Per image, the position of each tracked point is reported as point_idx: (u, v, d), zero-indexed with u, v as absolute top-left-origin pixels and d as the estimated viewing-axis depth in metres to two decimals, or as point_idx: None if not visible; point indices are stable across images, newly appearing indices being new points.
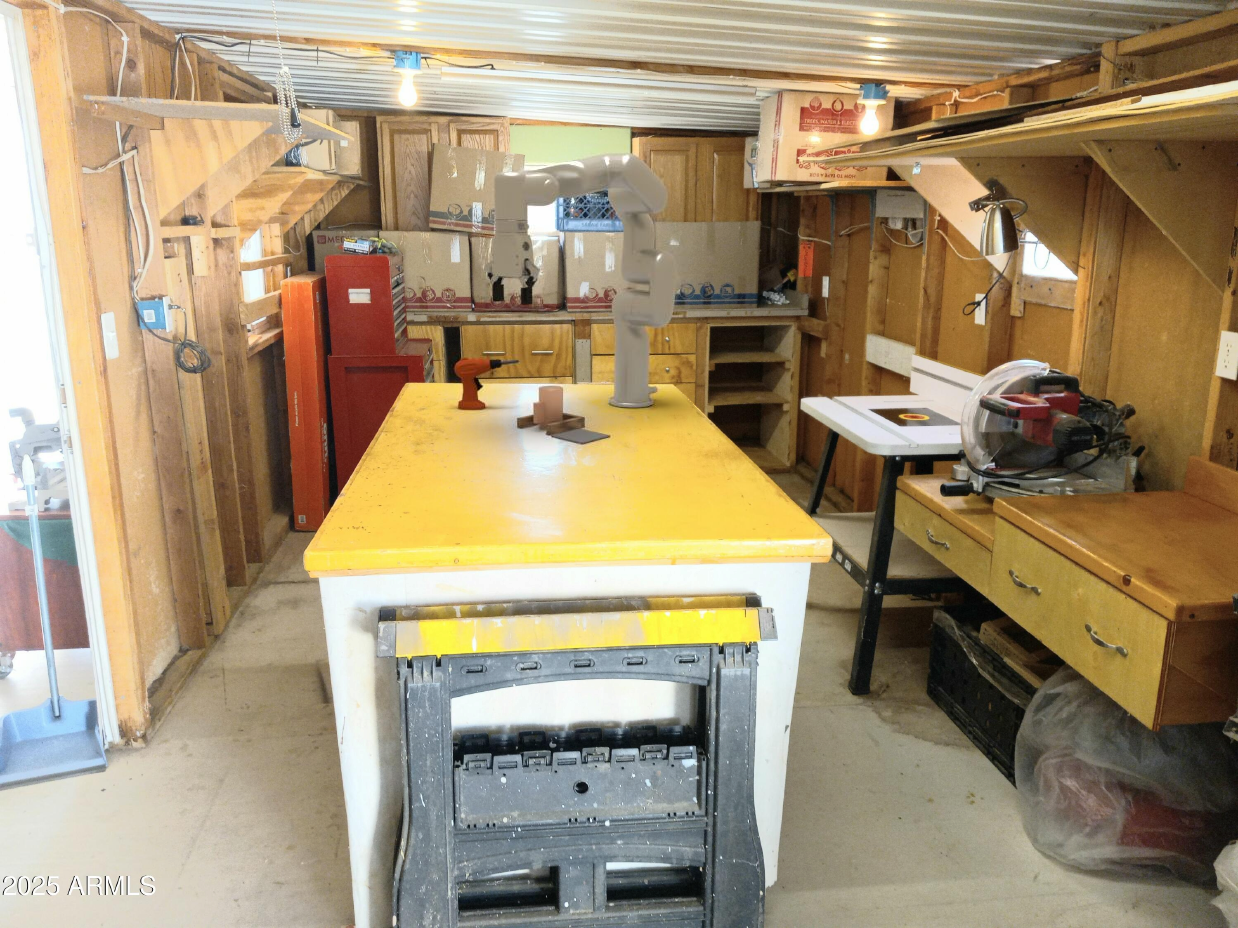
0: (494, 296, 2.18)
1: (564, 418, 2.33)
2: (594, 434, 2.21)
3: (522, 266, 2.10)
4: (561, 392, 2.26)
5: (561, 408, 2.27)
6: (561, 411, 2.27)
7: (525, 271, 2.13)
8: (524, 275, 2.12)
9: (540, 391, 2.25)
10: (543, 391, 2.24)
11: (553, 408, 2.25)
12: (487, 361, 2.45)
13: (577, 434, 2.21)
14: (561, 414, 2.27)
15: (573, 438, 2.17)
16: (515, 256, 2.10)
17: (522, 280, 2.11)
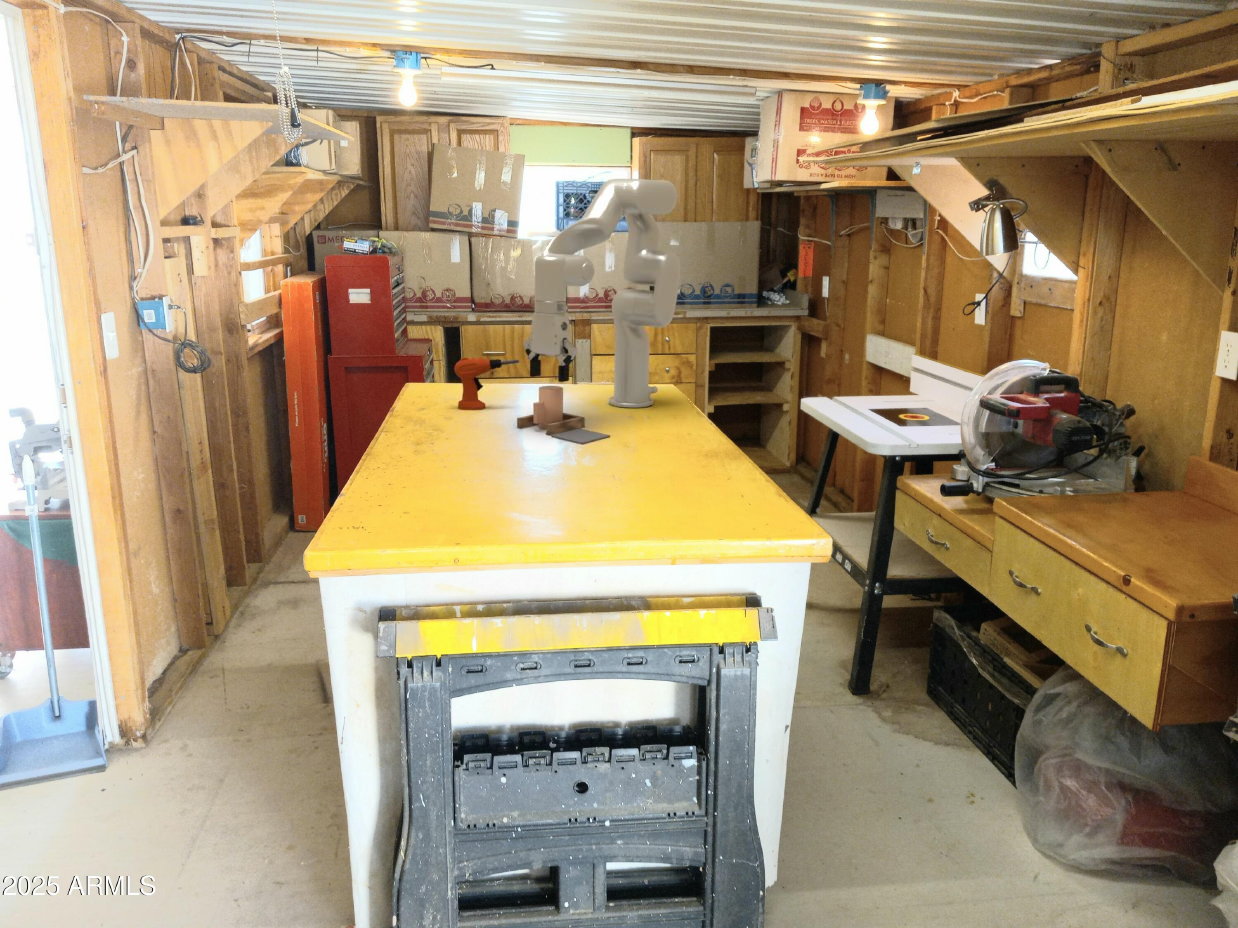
0: (531, 372, 2.27)
1: (564, 418, 2.33)
2: (594, 434, 2.21)
3: (560, 345, 2.19)
4: (561, 392, 2.26)
5: (561, 408, 2.27)
6: (561, 411, 2.27)
7: (563, 349, 2.22)
8: (562, 353, 2.21)
9: (540, 391, 2.25)
10: (543, 391, 2.24)
11: (553, 408, 2.25)
12: (487, 361, 2.45)
13: (577, 434, 2.21)
14: (561, 414, 2.27)
15: (573, 438, 2.17)
16: (554, 336, 2.19)
17: (560, 358, 2.20)
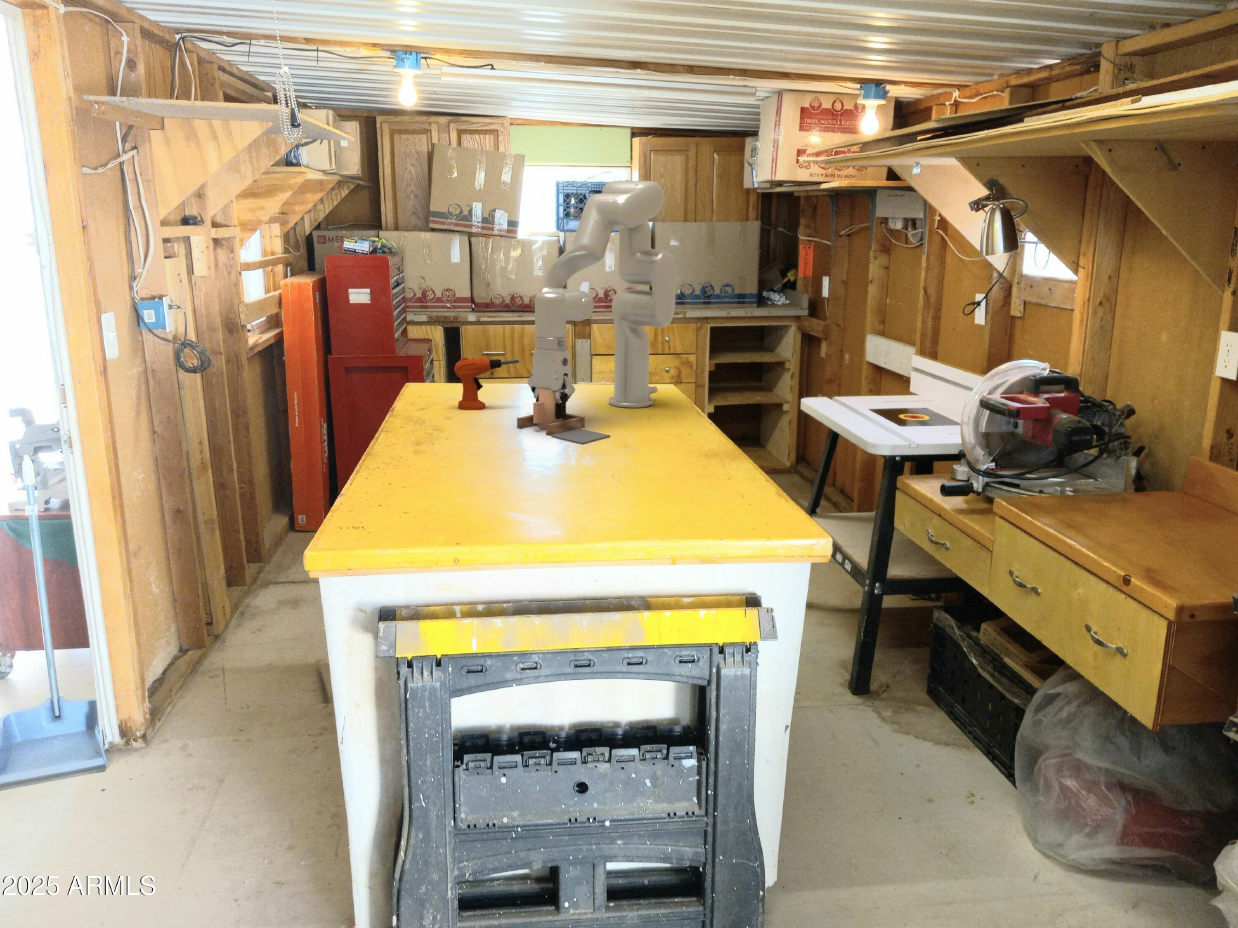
0: None
1: (564, 418, 2.33)
2: (594, 434, 2.21)
3: (561, 380, 2.22)
4: (561, 392, 2.26)
5: None
6: None
7: (564, 384, 2.25)
8: (560, 390, 2.24)
9: (540, 391, 2.25)
10: (543, 391, 2.24)
11: (553, 408, 2.25)
12: (487, 361, 2.45)
13: (577, 434, 2.21)
14: None
15: (573, 438, 2.17)
16: (555, 371, 2.21)
17: (558, 396, 2.24)
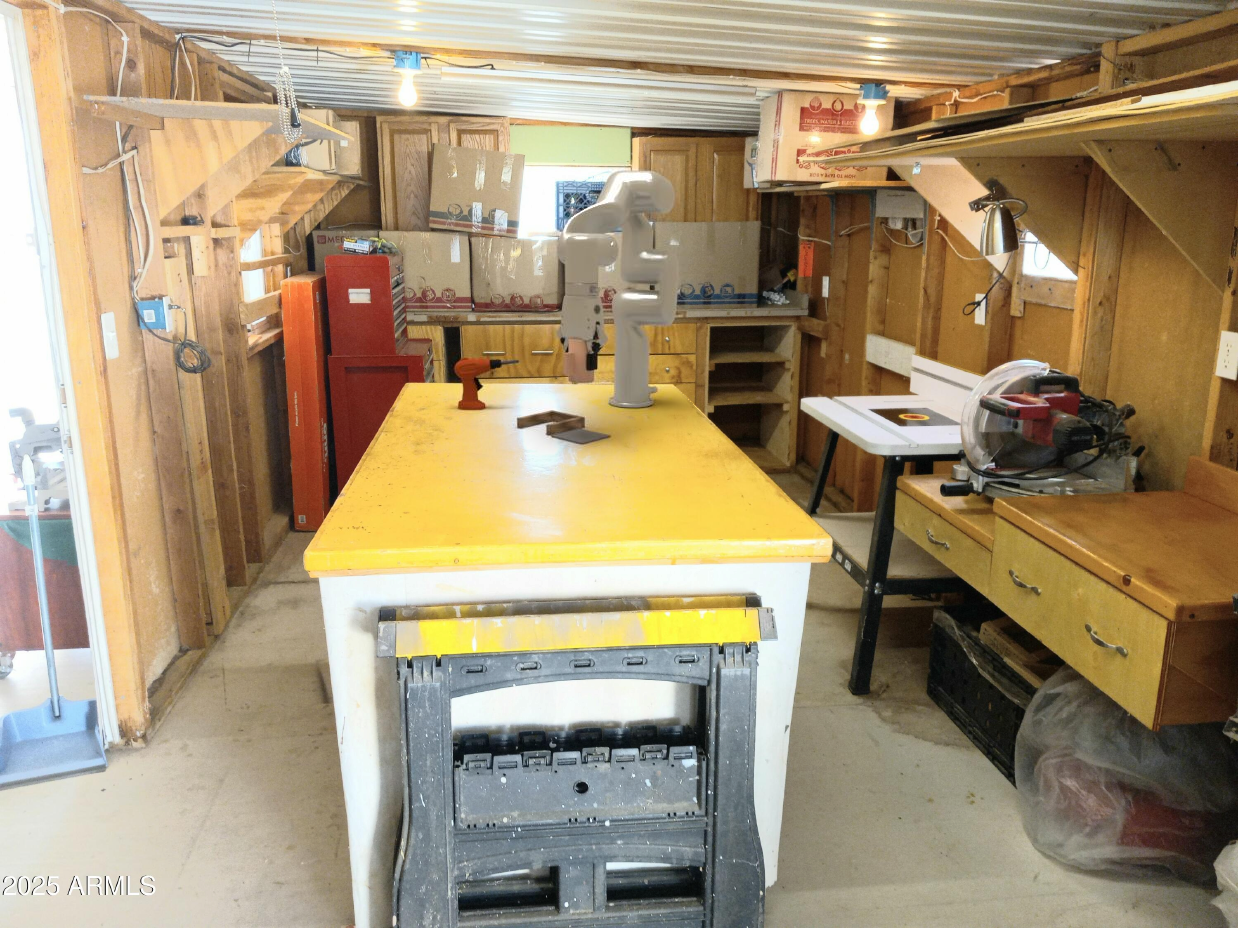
0: None
1: (564, 418, 2.33)
2: (594, 434, 2.21)
3: (593, 329, 2.09)
4: None
5: None
6: None
7: (595, 333, 2.12)
8: (592, 340, 2.12)
9: (570, 341, 2.12)
10: (573, 341, 2.12)
11: (584, 359, 2.12)
12: (487, 361, 2.45)
13: (577, 434, 2.21)
14: None
15: (573, 438, 2.17)
16: (586, 319, 2.09)
17: (589, 346, 2.11)
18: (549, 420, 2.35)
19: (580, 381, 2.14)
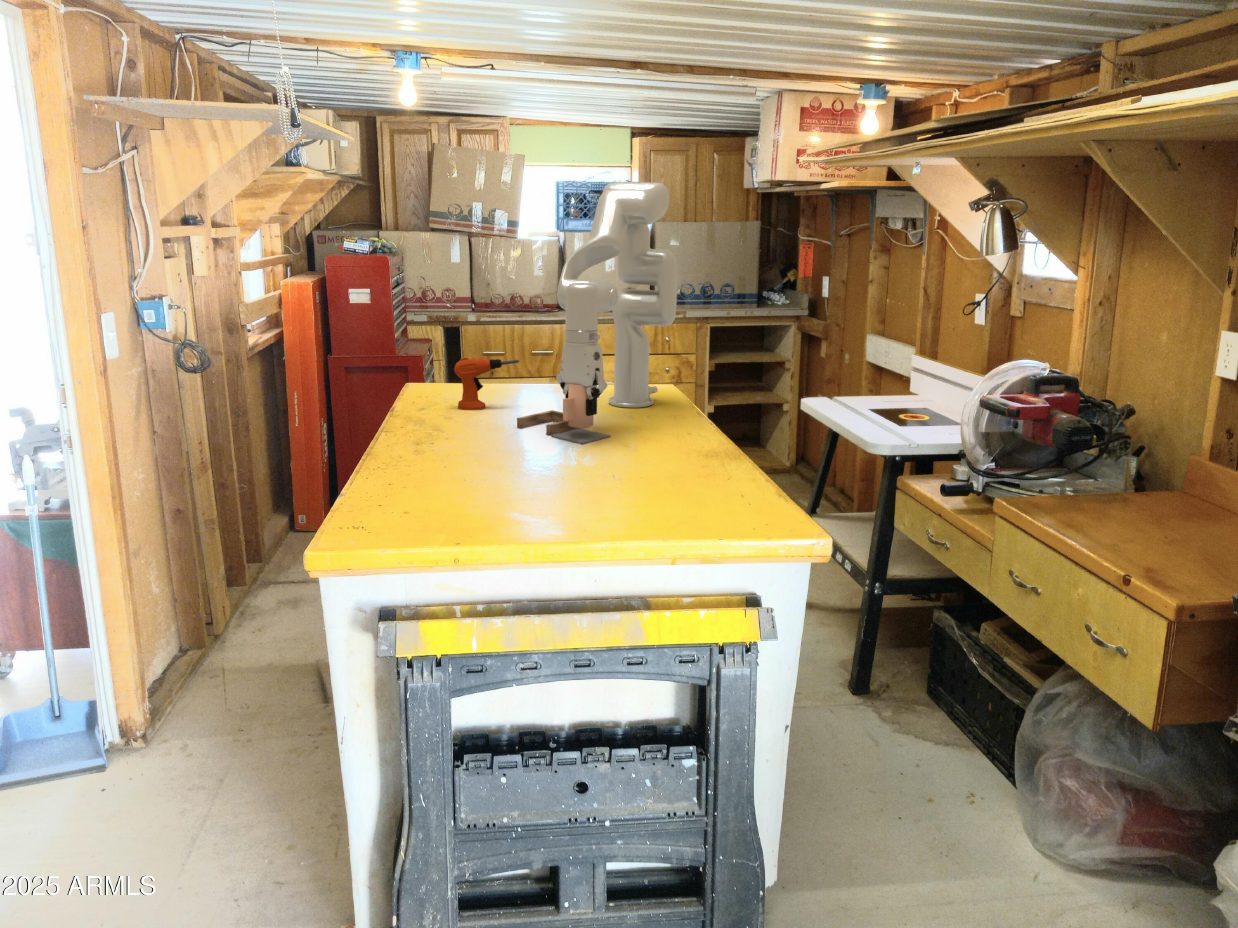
0: None
1: None
2: (594, 434, 2.21)
3: (593, 375, 2.12)
4: (592, 388, 2.16)
5: None
6: None
7: (595, 379, 2.15)
8: (592, 386, 2.14)
9: (570, 387, 2.15)
10: (573, 387, 2.14)
11: (583, 404, 2.15)
12: (487, 361, 2.45)
13: (577, 434, 2.21)
14: None
15: (573, 438, 2.17)
16: (586, 366, 2.12)
17: (589, 391, 2.14)
18: (549, 420, 2.35)
19: (580, 426, 2.17)
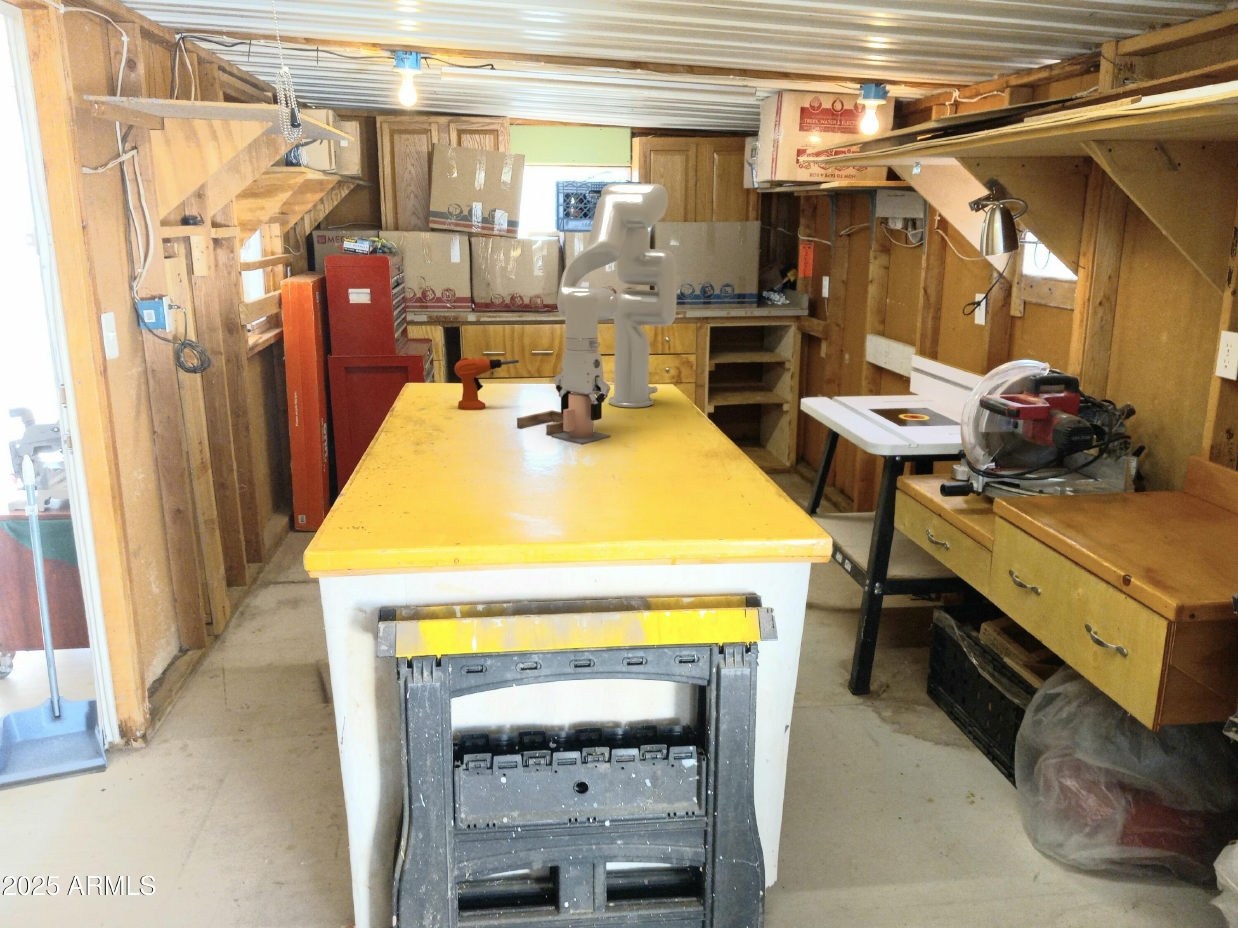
0: (563, 409, 2.20)
1: None
2: (594, 434, 2.21)
3: (593, 383, 2.13)
4: None
5: None
6: None
7: (595, 386, 2.16)
8: (594, 391, 2.14)
9: (570, 397, 2.16)
10: (573, 397, 2.15)
11: (583, 415, 2.16)
12: (487, 361, 2.45)
13: None
14: (592, 421, 2.18)
15: (573, 438, 2.17)
16: (586, 373, 2.12)
17: (592, 396, 2.13)
18: (549, 420, 2.35)
19: (580, 436, 2.17)
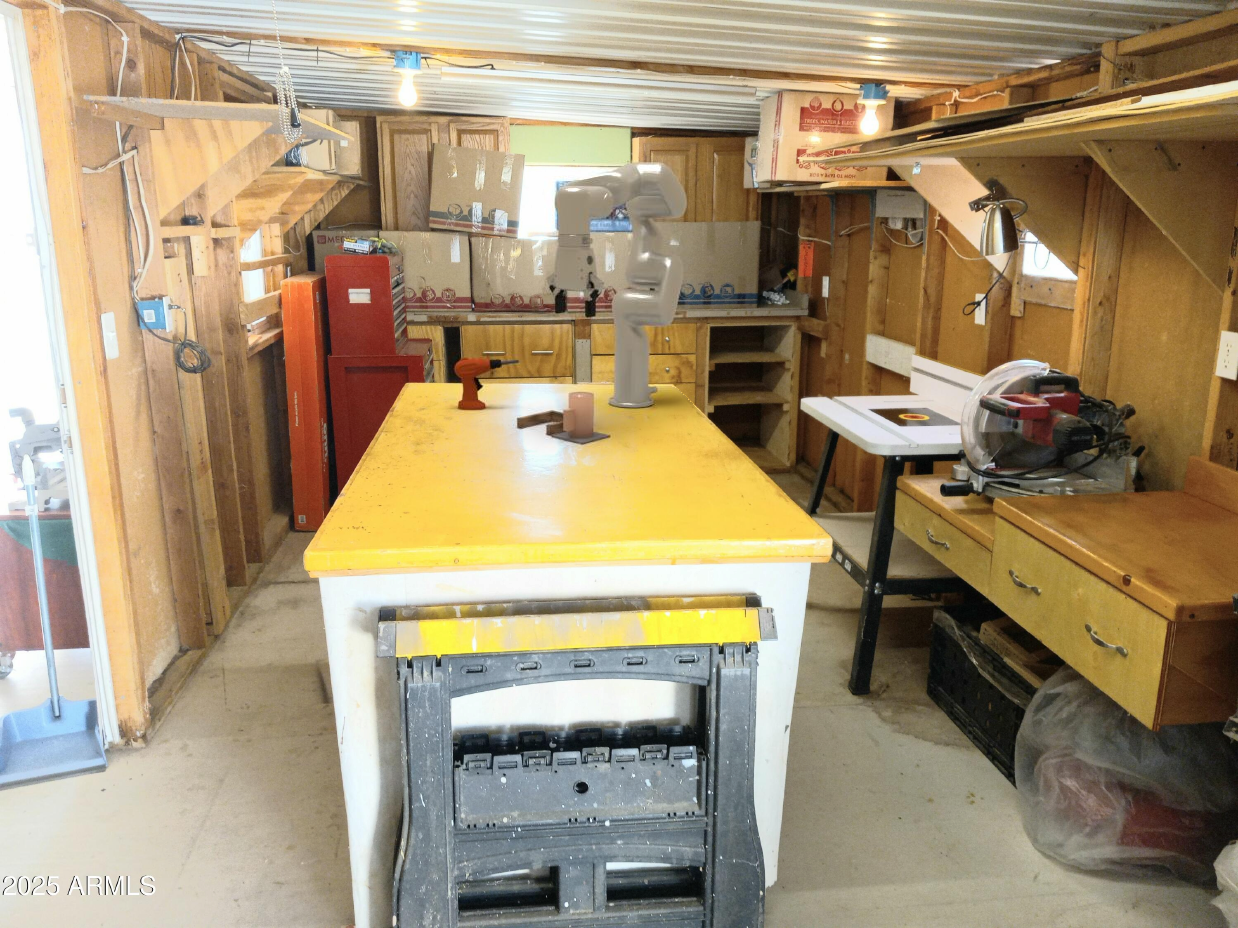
0: (557, 309, 2.23)
1: None
2: (594, 434, 2.21)
3: (586, 280, 2.15)
4: (592, 398, 2.17)
5: (592, 415, 2.18)
6: (592, 418, 2.18)
7: (588, 284, 2.18)
8: (588, 288, 2.17)
9: (570, 397, 2.16)
10: (573, 397, 2.15)
11: (583, 415, 2.16)
12: (487, 361, 2.45)
13: None
14: (592, 421, 2.18)
15: (573, 438, 2.17)
16: (580, 270, 2.15)
17: (586, 293, 2.16)
18: (549, 420, 2.35)
19: (580, 436, 2.17)
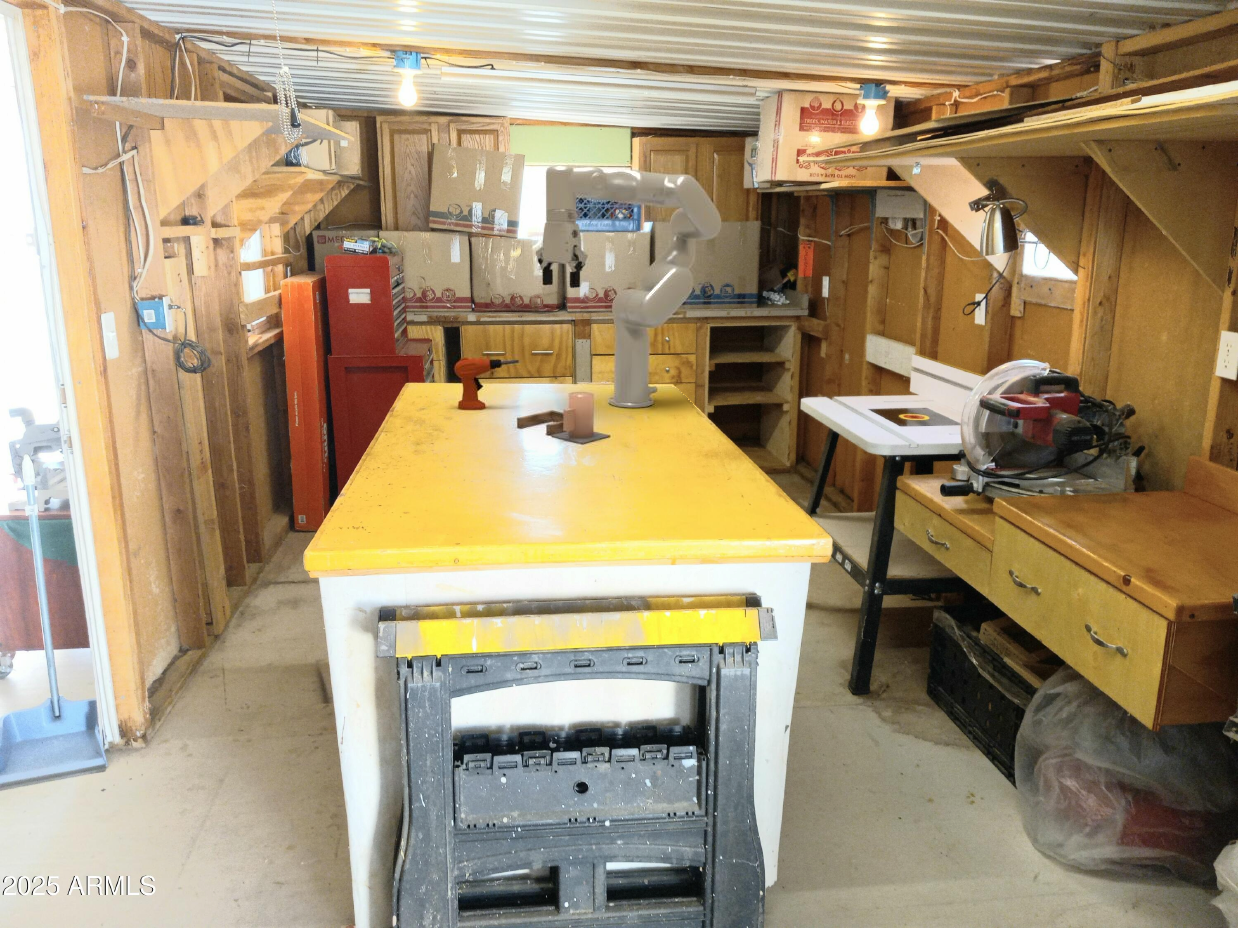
0: (544, 280, 2.38)
1: None
2: (594, 434, 2.21)
3: (571, 252, 2.30)
4: (592, 398, 2.17)
5: (592, 415, 2.18)
6: (592, 418, 2.18)
7: (573, 257, 2.33)
8: (573, 260, 2.32)
9: (570, 397, 2.16)
10: (573, 397, 2.15)
11: (583, 415, 2.16)
12: (487, 361, 2.45)
13: None
14: (592, 421, 2.18)
15: (573, 438, 2.17)
16: (565, 243, 2.30)
17: (571, 265, 2.31)
18: (549, 420, 2.35)
19: (580, 436, 2.17)
